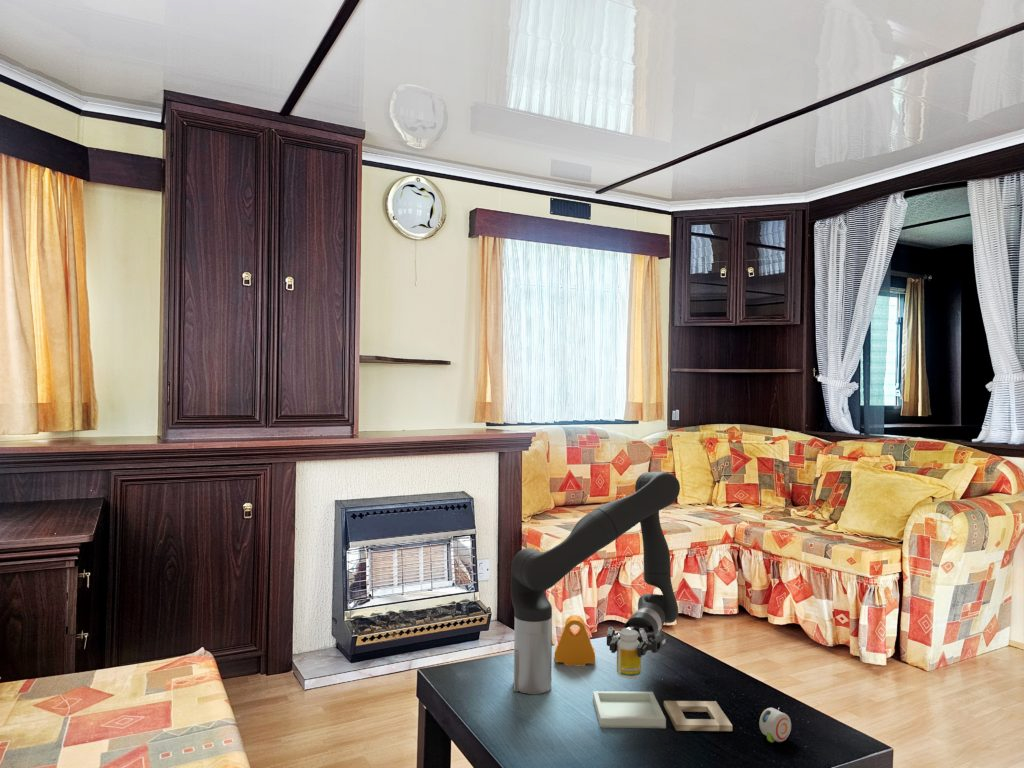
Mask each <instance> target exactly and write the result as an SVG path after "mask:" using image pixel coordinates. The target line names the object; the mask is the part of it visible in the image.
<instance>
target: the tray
mask: <svg viewBox="0 0 1024 768" xmlns="http://www.w3.org/2000/svg"><path fill="white" fill-rule="evenodd" d="M592 701H593V704H594V705H593V706H594V708H595V712H596V716H597V721H598V722H599V726H600V728H601V729H602V728H603V729H604V728H605V729H606V728H607V729H667V718H666V716H665V715H664V714H665V713H663V710H662V708H661V706H660V704H659V702H658V700H657V698H656V696H655V694H654V692H653V691H617V690H616V691H614V690H613V691H609V690H608V691H607V690H605V691H602V690H597V691H595V690H593V691H592Z"/></svg>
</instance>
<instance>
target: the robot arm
mask: <svg viewBox="0 0 1024 768" xmlns="http://www.w3.org/2000/svg"><path fill="white" fill-rule="evenodd" d="M634 489H635V492H633V493H631V494H629V495H627V496H624V497H621V498H619V499H615V500H613V501H610V502H608V503H605V504H602V505H600V506H598V507H597V508H595V509H593V510H592V511H590V512H589V513H586V515H584V516H583V517H581V518H580V519H579V520H578V521H577V522H576V524H575V525H574V527H573V528H572V530H571V532H570V533H569V534H568V536H567V537H566V539H564V540H563V541H561V542H560V543H559V544H557V545H555V546H554V547H552V548H550V549H548V550H546V551H544V552H542V551H540V550H538V549H534V548H531V547H530V548H529V547H527V548H523V549H520V550H519V551H518V552H517V553H516V554H515V556H514V557H513V558H512V562H511V566H510V590H511V591H510V595H511V597H510V599H511V602H512V606H513V608H514V609H513V610H514V628H513V629H514V633H513V634H514V635H513V636H514V639H513V641H514V642H513V692H518V691H520V692H519V693H523V694H526V693H527V694H528V695H539V694H544V693H547V692H549V691H550V690H551V689H552V679H553V678H552V665H553V664H552V663H553V662H552V659H553V658H552V654H553V651H552V648H553V642H552V641H553V639H552V638H553V632H552V631H553V630H552V629H553V606H552V604H551V602H550V601H549V599H548V597H547V595H546V592H545V591H547V590H549V589H551V588H552V587H554V586H555V585H557V583H558V582H559V581H561V580H562V579H563V578H564V577H565V576H567V574H569V573H570V572H572V570H574V569H575V568H576V567H578V566H579V565H580V564H582V562H584V561H586V560H588V559H589V558H591V557H592V556H593V555H595V554H596V553H597V552H600V551H601V550H602V549H603V548H606V547H607V546H608V545H610V544H611V543H614V541H615V540H616V539H618V538H620V537H621V536H622V535H624V534H625V533H626V532H628V531H629V530H631V529H633V528H634V527H635V526H637V525H638V524H639V523H640V524H639V525H640V530H641V538H642V545H643V546H642V547H643V549H642V550H643V579H644V582H645V583H646V584H647V585H649V586H653V587H655V588H658V589H659V590H660V591H661V592H662V594H655V593H644V594H642V595H640V597H639V598H638V602H637V610H636V611H634V612H633V614H632V615H631V616H630V617H629V619H628V620H627V621H626V623H624V627H623V628H620V629H619V630H615V629H614V627H613V626H609V627H608V628H607V632H606V646H607V647H609V651H611V653H612V654H615V653H617V642H618V640H620V631H621V630H623V629H632V630H636V631H637V632H638V638H637V640H638V641H639V642H640V645H639V646H638V657H641V658H642V656H645V655H646V654H647V653H649V652H650V651H651V653H653V654H656V653H658V652H659V651H661V650H663V648H665V647H666V634H663V633H661V634H660V632H661V629H662V628H663V626H664V624H673V623H674V622H676V620H677V619H678V617H679V607H678V602H677V599H676V596H675V592H674V588H673V585H672V578H671V577H672V576H671V554H670V549H669V548H670V547H669V545H668V542H667V540H666V536H665V534H664V532H663V529H662V524H661V521H660V511H661V510H663V509H665V508H667V507H669V506H670V505H672V504H673V503H674V502H676V500H677V499H678V497H679V495H680V491H681V485H680V481H679V479H678V478H677V477H676V476H675V474H674V475H673V474H672V473H669V472H666V471H647V472H643V473H641V474H640V475H639V476H638V477H637V479H636V480H635V486H634ZM527 694H526V695H527Z"/></svg>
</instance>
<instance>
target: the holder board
mask: <svg viewBox="0 0 1024 768" xmlns="http://www.w3.org/2000/svg"><path fill="white" fill-rule="evenodd" d="M663 707H664V710H665V711H666V713H667V716H669V717H668V718H669V719H670V721H671V723H672V726H673V727H674V729H675V731H677V732H679V731H681V732H682V731H683V732H684V731H685V732H687V731H689V732H691V731H692V732H694V731H695V732H733V724H732V723H731V721H730V720H729V718H728V716H727V715H726V714H725V713H724V711H723V710H722V708H721V706H720V705H719V704H718V702H717V701H716V700H714V701H713V700H710V701H709V700H703V701H702V700H663ZM683 712H687V713H688V712H691V713H696V712H697V713H704V712H705V713H707V714H708V716H709V717H710V719H709V718H706V719H705V718H687V717H685V716H686V715H684V713H683Z"/></svg>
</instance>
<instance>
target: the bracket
mask: <svg viewBox="0 0 1024 768" xmlns="http://www.w3.org/2000/svg"><path fill="white" fill-rule="evenodd" d="M585 624H586V623H585V621H584V619H583V618H582V617H581V616H579V615H578V614H572V615H569V616H568V617H567V618H566V619H565V622H564V627H563V629H562V633H561V635H560V638H559V640H558V643H557V645H555V646H554V662H555V663H564V664H565V665H564V664H563V665H564V666H572V665H580V666H579V667H585V666H586V664H596V653H595V652H596V651H595V649H596V648H595V647H594V646H593V645H592V642H591V639H590V637H589V633H588V631H587V628H586V625H585ZM574 625H575V626H578V627H579V629H577V630H574V629H572V628H571V627H572V626H574ZM584 665H585V666H584Z"/></svg>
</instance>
